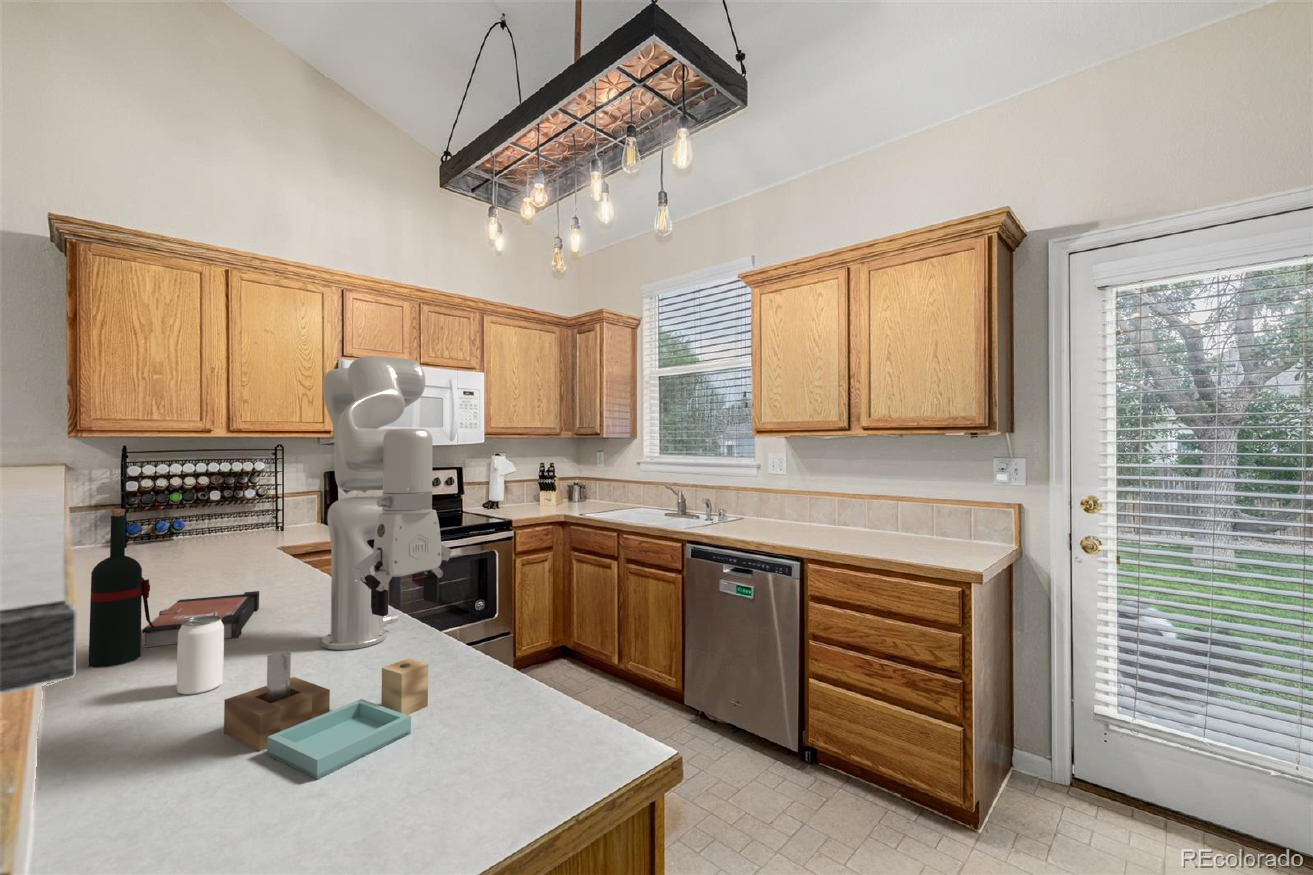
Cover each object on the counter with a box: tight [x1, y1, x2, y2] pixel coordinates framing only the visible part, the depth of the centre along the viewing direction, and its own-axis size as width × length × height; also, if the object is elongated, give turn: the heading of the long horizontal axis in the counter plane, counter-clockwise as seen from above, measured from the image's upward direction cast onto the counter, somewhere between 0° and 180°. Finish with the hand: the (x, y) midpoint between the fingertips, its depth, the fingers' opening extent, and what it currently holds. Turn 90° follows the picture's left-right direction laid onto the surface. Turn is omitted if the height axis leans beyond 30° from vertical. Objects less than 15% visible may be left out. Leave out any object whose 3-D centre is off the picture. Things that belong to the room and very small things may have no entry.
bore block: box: [223, 676, 331, 752], centre depth 88 cm, size 10×10×5 cm
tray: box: [266, 698, 412, 780], centre depth 84 cm, size 14×12×2 cm
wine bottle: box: [87, 508, 156, 669], centre depth 117 cm, size 8×10×30 cm
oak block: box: [380, 657, 429, 716], centre depth 95 cm, size 5×5×7 cm
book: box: [141, 590, 260, 650], centre depth 137 cm, size 26×18×5 cm
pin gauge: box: [266, 651, 292, 703], centre depth 89 cm, size 3×3×10 cm
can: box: [176, 616, 225, 696], centre depth 103 cm, size 6×6×12 cm
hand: (406, 607), depth 95 cm, fingers open, 9 cm apart
